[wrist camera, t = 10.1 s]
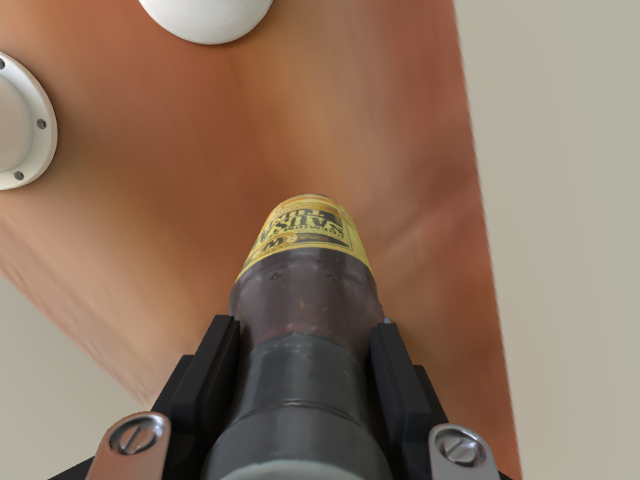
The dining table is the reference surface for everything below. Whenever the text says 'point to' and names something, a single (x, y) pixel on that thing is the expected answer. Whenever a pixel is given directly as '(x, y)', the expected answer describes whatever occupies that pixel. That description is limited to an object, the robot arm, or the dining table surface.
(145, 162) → the dining table surface
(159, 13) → the candlestick
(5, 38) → the dining table surface
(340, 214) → the sauce bottle
